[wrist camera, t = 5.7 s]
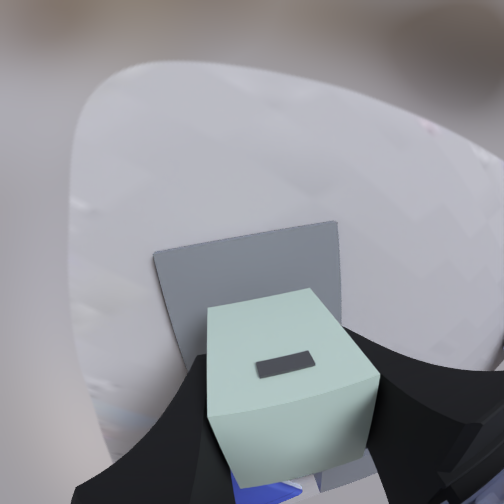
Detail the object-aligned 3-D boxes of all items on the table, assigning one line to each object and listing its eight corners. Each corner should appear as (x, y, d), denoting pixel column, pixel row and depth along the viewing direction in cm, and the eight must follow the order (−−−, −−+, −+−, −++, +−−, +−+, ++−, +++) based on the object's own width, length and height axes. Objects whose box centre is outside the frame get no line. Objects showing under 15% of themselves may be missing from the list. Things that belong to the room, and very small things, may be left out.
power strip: (417, 390, 17) (445, 423, 13) (407, 422, 18) (429, 452, 14) (307, 431, 16) (324, 476, 12) (308, 459, 17) (322, 498, 13)
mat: (333, 220, 12) (337, 222, 12) (338, 362, 15) (340, 366, 14) (154, 252, 12) (152, 254, 11) (196, 391, 14) (196, 396, 14)
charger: (309, 286, 11) (380, 371, 6) (315, 392, 12) (356, 478, 7) (207, 305, 11) (206, 414, 5) (235, 409, 12) (249, 505, 7)
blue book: (129, 479, 15) (235, 518, 18) (200, 451, 14) (303, 493, 18) (132, 465, 16) (233, 507, 20) (200, 433, 16) (299, 480, 19)
